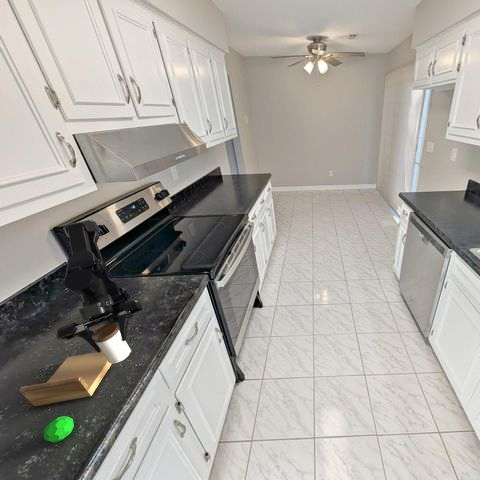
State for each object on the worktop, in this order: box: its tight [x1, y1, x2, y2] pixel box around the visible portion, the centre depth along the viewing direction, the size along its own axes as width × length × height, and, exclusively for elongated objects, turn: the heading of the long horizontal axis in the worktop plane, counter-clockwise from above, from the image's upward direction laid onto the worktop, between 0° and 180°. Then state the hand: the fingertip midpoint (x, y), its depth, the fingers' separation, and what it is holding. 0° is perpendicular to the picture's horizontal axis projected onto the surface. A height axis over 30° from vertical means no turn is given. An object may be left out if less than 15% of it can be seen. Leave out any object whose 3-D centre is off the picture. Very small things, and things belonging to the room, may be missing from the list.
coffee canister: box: [92, 323, 132, 365], centre depth 73 cm, size 6×6×10 cm
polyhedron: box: [43, 415, 75, 443], centre depth 60 cm, size 5×5×5 cm
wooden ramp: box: [18, 351, 112, 407], centre depth 73 cm, size 14×14×7 cm
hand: (112, 346), depth 72 cm, fingers closed on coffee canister, 5 cm apart
